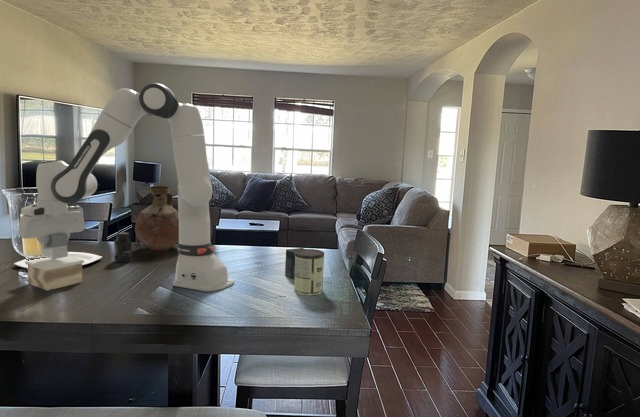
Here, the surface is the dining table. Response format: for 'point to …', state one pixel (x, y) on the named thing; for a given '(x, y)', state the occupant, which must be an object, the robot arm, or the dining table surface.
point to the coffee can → (309, 272)
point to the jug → (158, 221)
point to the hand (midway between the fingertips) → (54, 247)
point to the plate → (84, 256)
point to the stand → (54, 272)
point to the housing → (55, 246)
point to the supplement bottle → (122, 248)
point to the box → (290, 262)
